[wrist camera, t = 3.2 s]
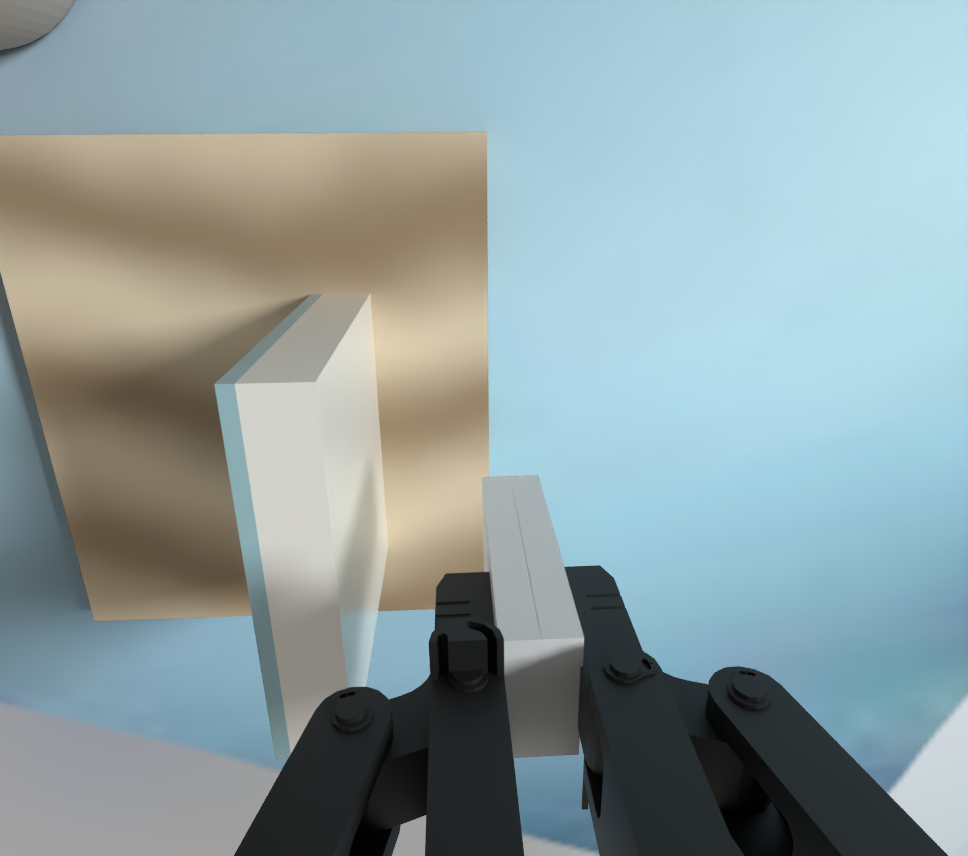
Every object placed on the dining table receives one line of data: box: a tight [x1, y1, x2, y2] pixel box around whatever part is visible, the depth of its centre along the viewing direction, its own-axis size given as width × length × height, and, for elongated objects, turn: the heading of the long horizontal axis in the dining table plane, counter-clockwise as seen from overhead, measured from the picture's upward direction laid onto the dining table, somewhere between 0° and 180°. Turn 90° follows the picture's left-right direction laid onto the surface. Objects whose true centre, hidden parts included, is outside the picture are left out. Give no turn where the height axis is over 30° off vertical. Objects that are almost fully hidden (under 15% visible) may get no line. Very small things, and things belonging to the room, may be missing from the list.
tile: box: [214, 293, 388, 759], centre depth 20 cm, size 10×2×10 cm, turn 0°
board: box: [0, 132, 489, 621], centre depth 25 cm, size 18×16×1 cm
